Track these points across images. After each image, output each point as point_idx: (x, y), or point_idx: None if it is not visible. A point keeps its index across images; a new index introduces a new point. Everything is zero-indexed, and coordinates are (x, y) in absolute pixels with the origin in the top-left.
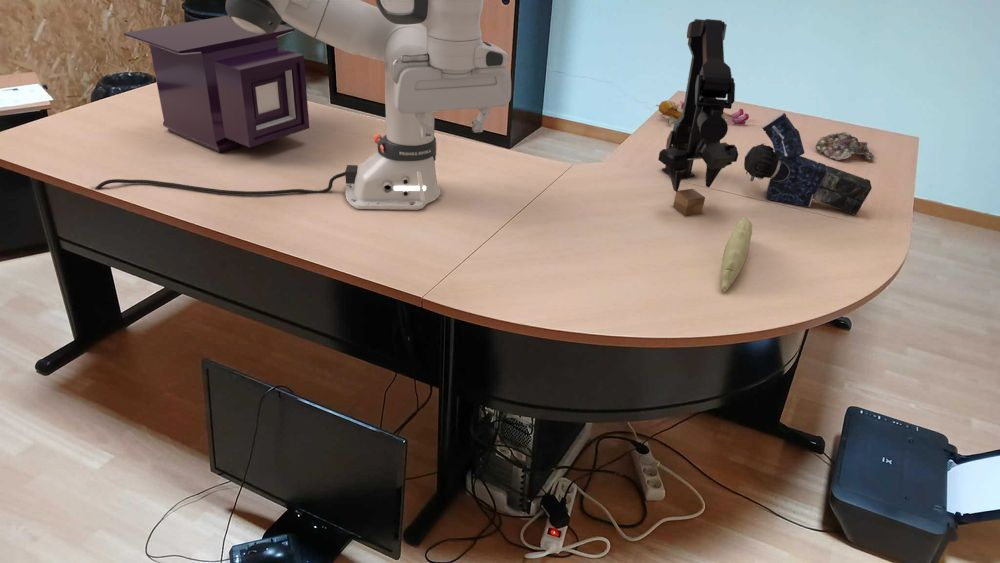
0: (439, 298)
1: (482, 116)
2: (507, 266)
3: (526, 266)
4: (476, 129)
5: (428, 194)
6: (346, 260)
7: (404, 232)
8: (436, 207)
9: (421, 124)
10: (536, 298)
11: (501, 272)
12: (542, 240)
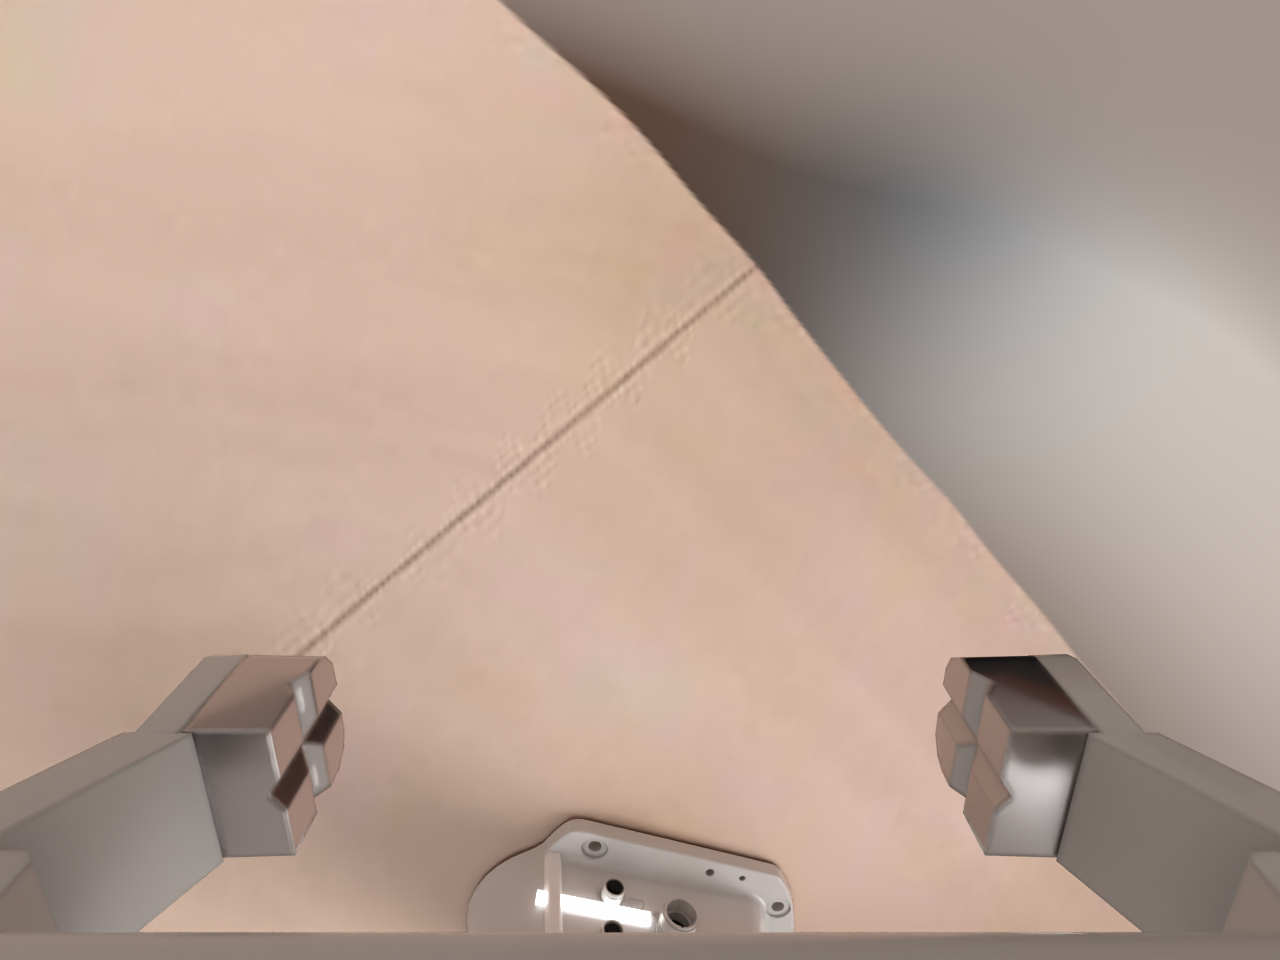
0: (703, 232)
1: (84, 832)
2: (371, 377)
3: (295, 355)
4: (289, 674)
5: (526, 879)
6: (930, 576)
7: (674, 696)
8: (511, 820)
9: (1223, 769)
10: (322, 107)
11: (408, 342)
12: (178, 519)
